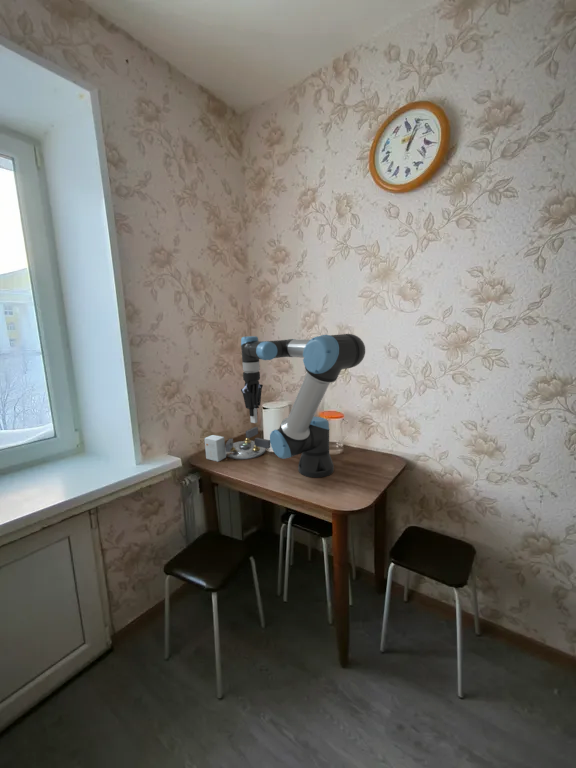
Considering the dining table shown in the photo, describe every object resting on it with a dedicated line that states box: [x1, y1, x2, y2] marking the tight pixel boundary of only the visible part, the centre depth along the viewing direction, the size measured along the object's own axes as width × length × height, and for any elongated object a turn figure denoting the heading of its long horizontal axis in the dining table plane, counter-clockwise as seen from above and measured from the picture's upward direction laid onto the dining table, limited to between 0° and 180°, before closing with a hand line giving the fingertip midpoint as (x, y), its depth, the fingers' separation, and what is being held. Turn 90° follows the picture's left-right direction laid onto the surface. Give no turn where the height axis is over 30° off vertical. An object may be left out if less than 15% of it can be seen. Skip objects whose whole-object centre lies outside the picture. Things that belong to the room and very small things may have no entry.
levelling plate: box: [225, 440, 266, 460], centre depth 166 cm, size 20×20×4 cm
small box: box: [204, 434, 227, 463], centre depth 158 cm, size 8×6×10 cm
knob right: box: [243, 426, 259, 443], centre depth 175 cm, size 10×4×6 cm, turn 147°
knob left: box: [225, 438, 235, 452], centre depth 159 cm, size 10×4×6 cm, turn 177°
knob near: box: [253, 437, 271, 451], centre depth 160 cm, size 10×4×6 cm, turn 57°
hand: (254, 422), depth 152 cm, fingers closed
